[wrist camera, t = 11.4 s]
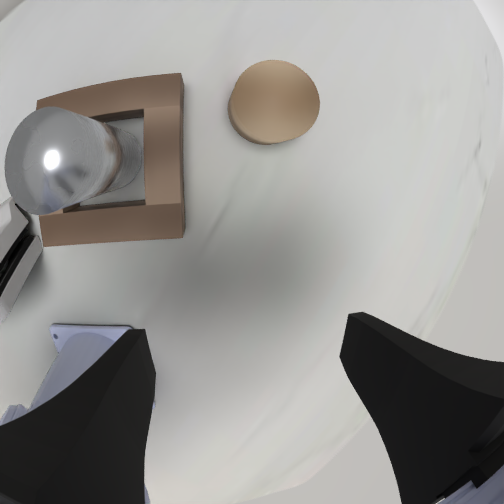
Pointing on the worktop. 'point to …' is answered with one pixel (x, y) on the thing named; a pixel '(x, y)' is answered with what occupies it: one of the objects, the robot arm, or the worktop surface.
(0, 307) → the hinge
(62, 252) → the worktop surface
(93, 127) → the tall pin
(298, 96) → the oak stub
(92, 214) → the socket block
